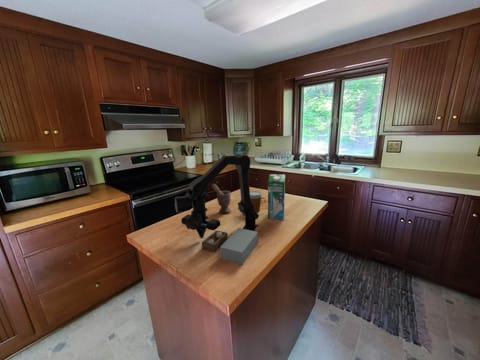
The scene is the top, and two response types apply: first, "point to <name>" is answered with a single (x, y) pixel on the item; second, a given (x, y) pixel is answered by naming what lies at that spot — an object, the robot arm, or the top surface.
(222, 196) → the mortar and pestle
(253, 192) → the disposable coffee cup
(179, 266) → the top surface
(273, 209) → the milk carton
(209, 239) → the walnut tray
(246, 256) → the grey shelf
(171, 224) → the top surface
